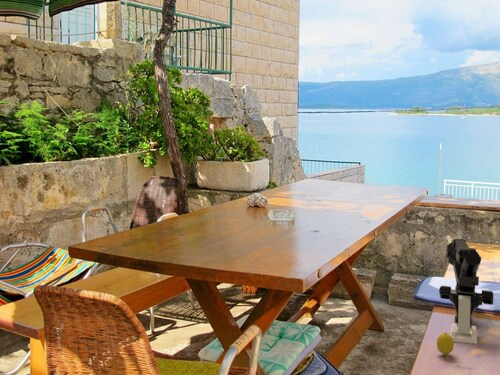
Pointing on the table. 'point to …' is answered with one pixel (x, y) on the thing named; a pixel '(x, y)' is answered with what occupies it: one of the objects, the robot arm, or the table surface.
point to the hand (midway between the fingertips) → (463, 315)
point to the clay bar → (464, 315)
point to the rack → (464, 335)
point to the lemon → (445, 343)
